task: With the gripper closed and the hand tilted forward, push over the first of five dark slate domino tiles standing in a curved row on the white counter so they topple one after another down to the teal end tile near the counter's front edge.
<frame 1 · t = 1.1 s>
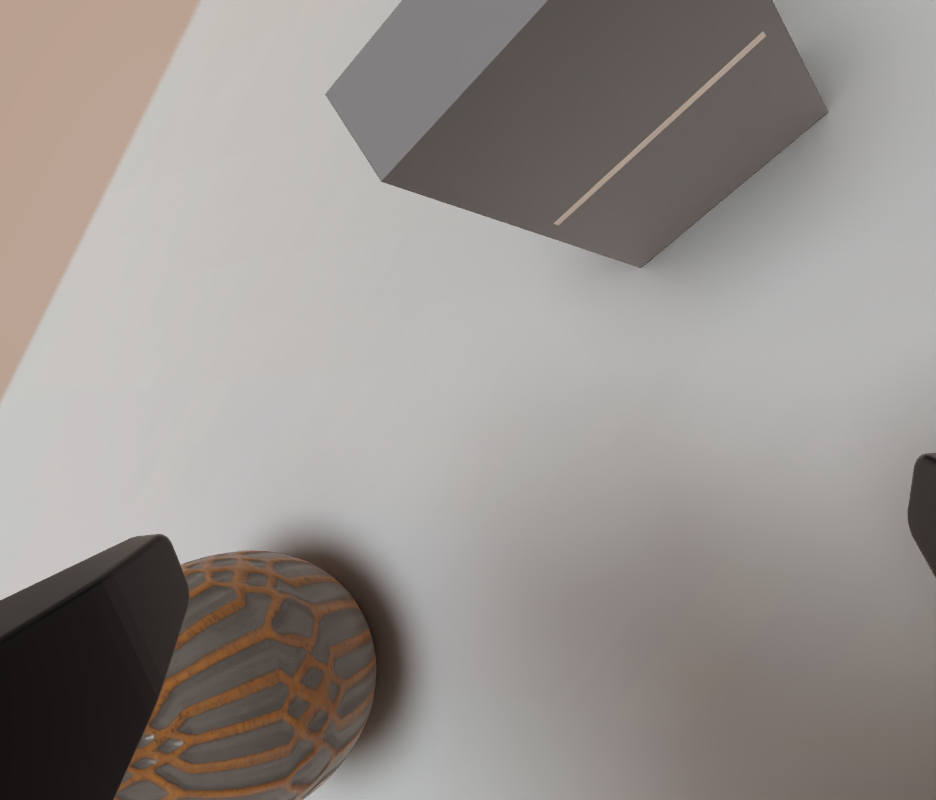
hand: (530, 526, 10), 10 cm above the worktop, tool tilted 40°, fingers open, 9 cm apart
vase: (327, 644, 25), on the worktop
domino 1: (707, 168, 18), on the worktop
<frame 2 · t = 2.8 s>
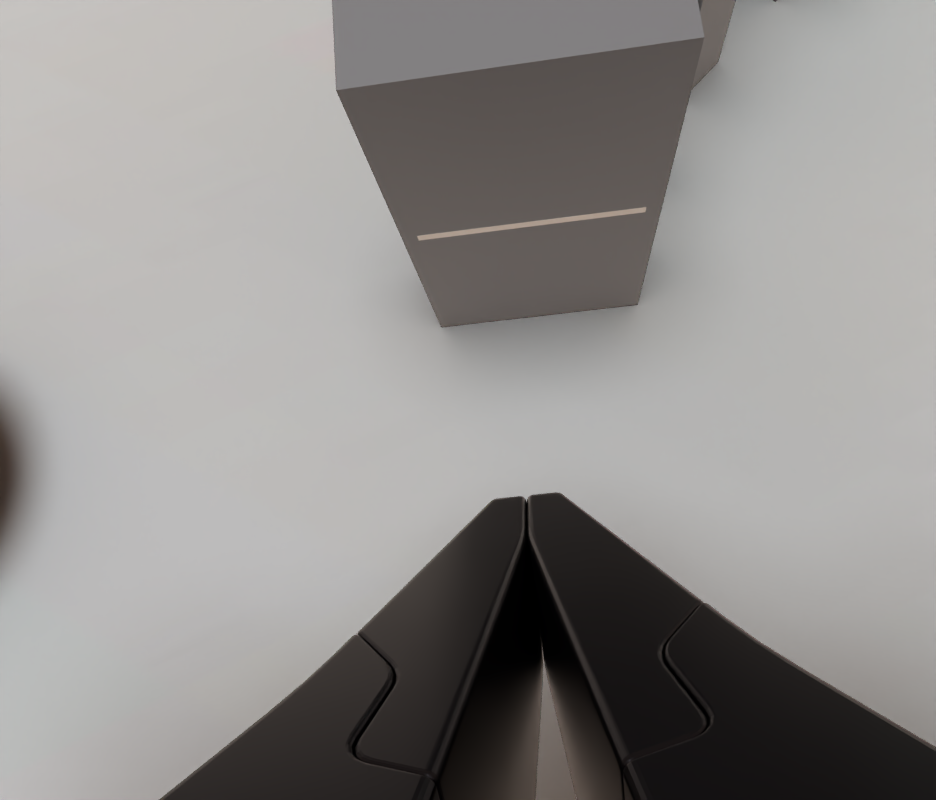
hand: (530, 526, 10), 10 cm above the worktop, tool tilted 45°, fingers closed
domino 3: (626, 32, 22), on the worktop
domino 1: (535, 286, 21), on the worktop
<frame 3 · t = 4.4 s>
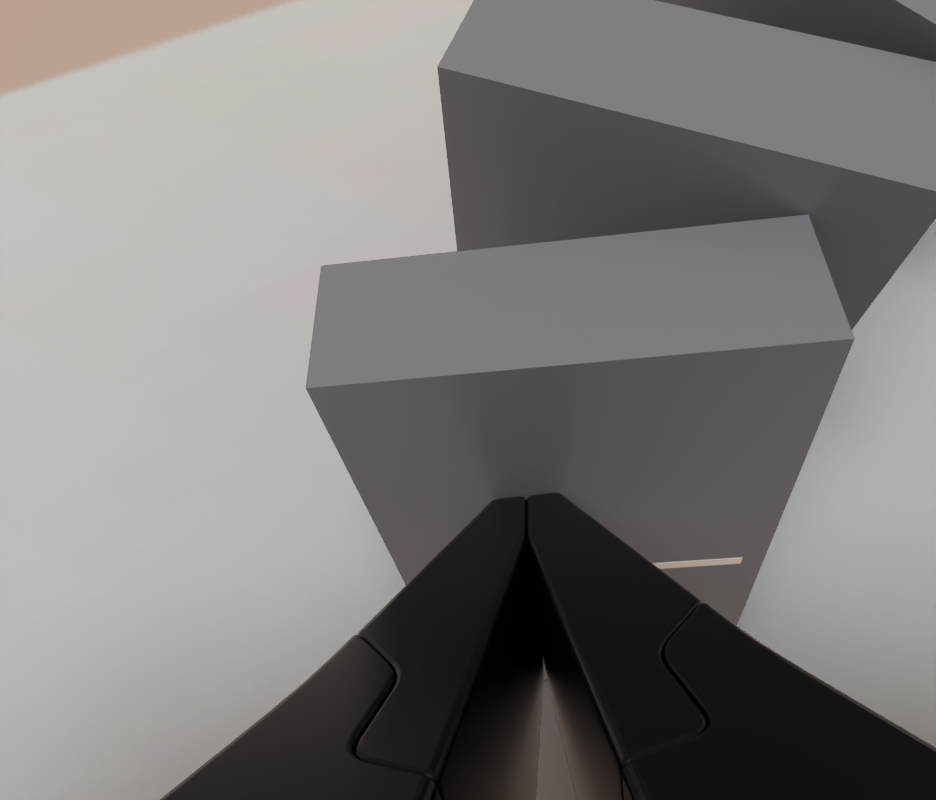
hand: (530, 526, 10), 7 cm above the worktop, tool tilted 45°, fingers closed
domino 2: (601, 444, 17), on the worktop, tilted 11°
domino 3: (692, 293, 18), on the worktop
domino 1: (581, 636, 16), on the worktop, tilted 20°, touching gripper
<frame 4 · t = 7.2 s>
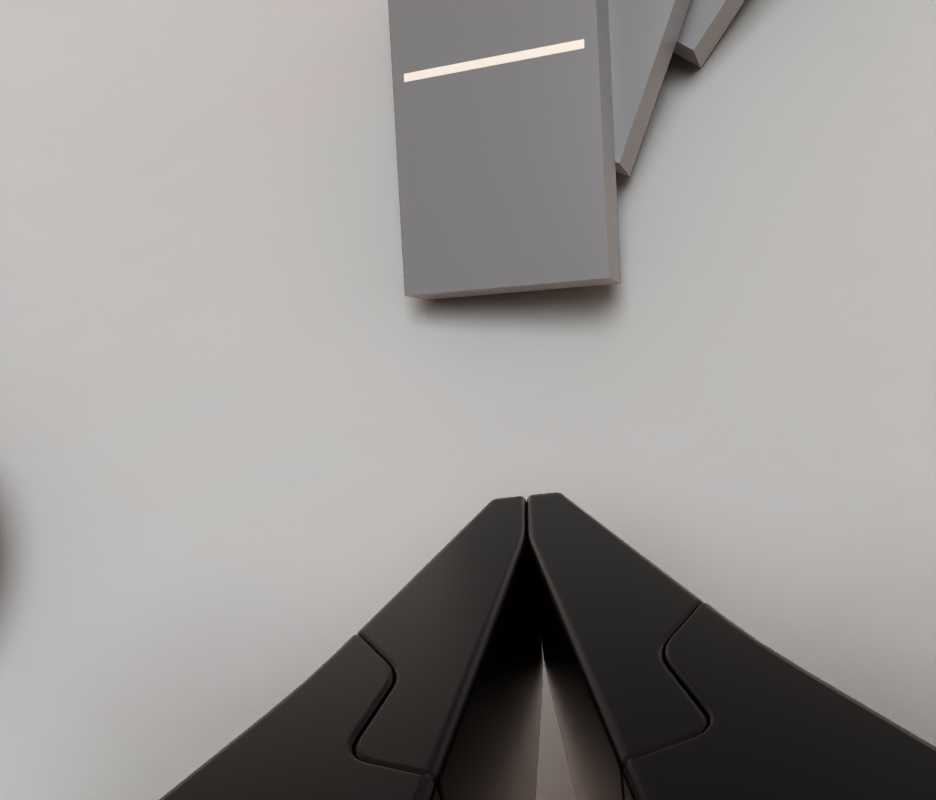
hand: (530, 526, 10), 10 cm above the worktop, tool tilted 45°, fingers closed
domino 2: (533, 144, 21), point 1 cm above the worktop, tilted 69°, touching domino 1, domino 3
domino 3: (619, 15, 22), point 1 cm above the worktop, tilted 65°, touching domino 2, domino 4
domino 1: (512, 289, 20), point 1 cm above the worktop, tilted 73°, touching domino 2
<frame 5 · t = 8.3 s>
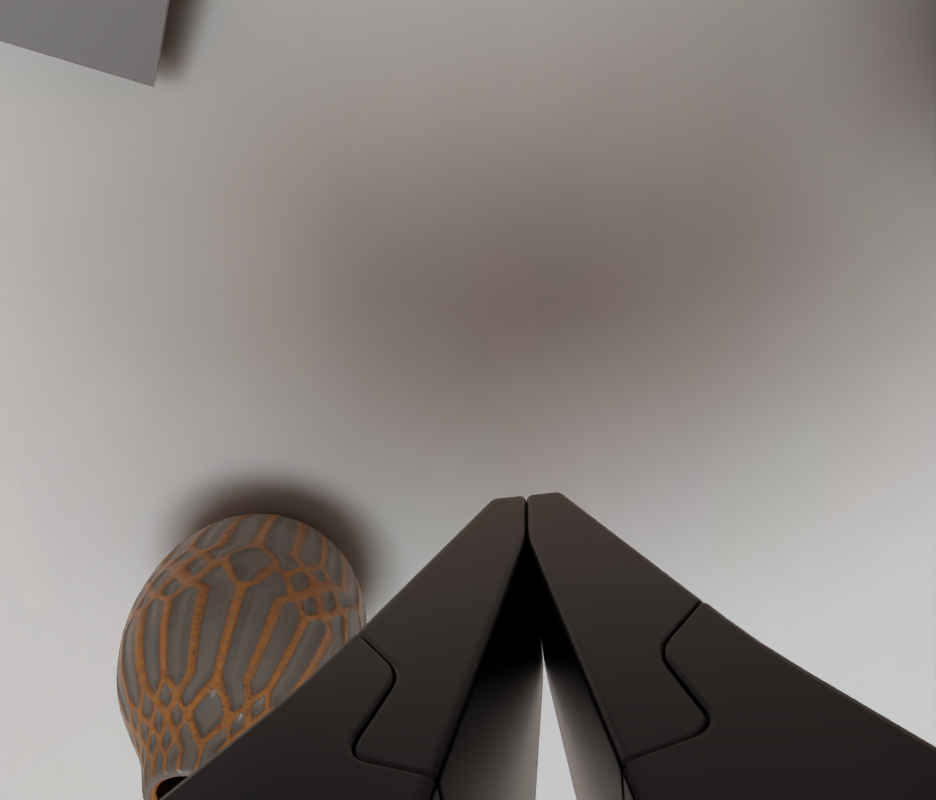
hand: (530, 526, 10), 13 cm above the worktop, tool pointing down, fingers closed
vase: (278, 559, 27), on the worktop
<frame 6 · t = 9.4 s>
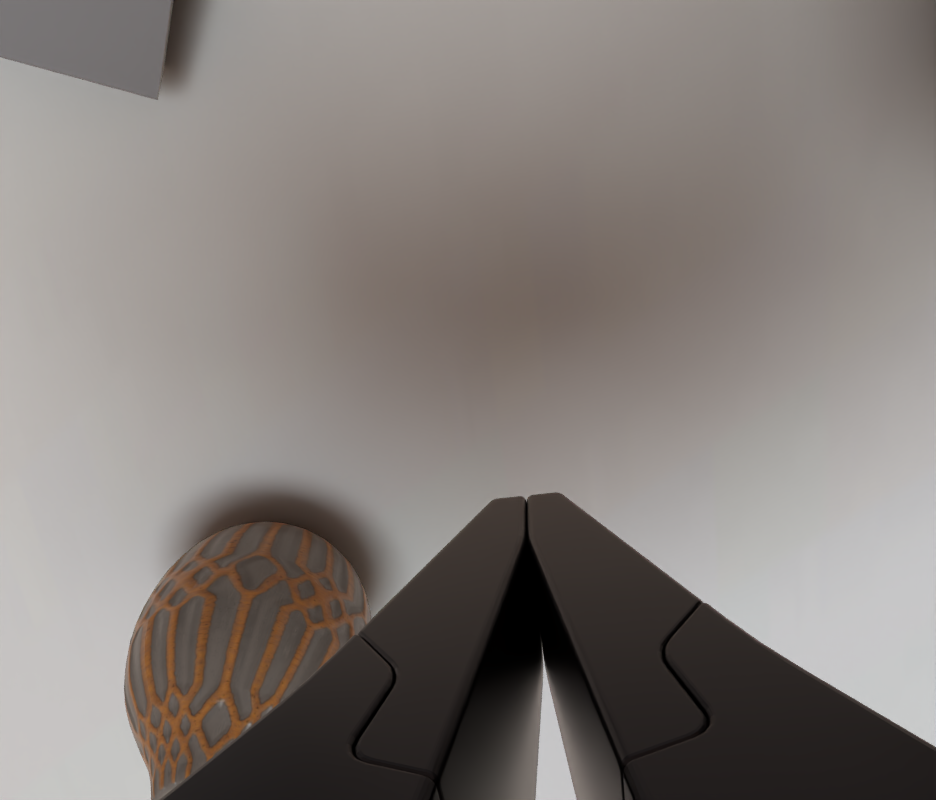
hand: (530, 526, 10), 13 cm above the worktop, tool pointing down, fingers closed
vase: (283, 567, 27), on the worktop
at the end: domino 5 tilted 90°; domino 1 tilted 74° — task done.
